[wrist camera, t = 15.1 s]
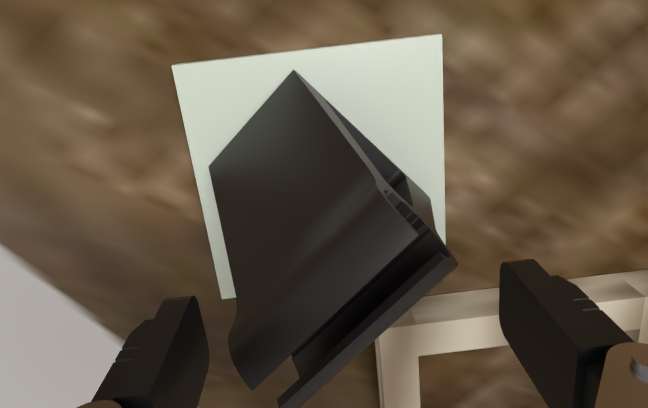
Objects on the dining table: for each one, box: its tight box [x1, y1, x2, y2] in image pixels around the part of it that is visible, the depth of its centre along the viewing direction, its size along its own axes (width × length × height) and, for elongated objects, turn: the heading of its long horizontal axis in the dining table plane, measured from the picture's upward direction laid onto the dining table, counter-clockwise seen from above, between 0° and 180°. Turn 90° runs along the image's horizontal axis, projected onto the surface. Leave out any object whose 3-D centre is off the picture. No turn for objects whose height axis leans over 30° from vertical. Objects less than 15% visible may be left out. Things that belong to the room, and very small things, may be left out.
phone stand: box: [208, 69, 458, 408], centre depth 17 cm, size 9×6×12 cm, turn 46°
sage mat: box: [172, 34, 446, 299], centre depth 23 cm, size 12×12×1 cm
